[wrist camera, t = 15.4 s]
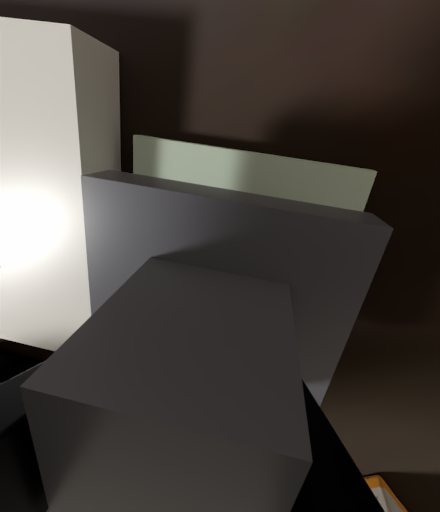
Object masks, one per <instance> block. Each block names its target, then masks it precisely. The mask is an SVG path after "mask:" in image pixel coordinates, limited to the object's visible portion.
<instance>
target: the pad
mask: <svg viewBox="0 0 440 512" xmlns="http://www.w3.org/2000/svg"><path fill="white" fill-rule="evenodd" d="M133 174H140V175H146V176H152V177H158V178H164V179H170V180H176V181H182V182H188V183H194V184H200V185H206V186H212V187H218V188H224V189H230V190H236V191H242V192H248V193H254V194H260V195H266V196H272V197H278V198H284V199H290V200H296V201H302V202H308V203H314V204H320V205H326V206H332V207H338V208H344V209H350V210H356V211H362V212H363V211H364V208H365V205H366V202H367V199H368V197H369V194H370V191H371V188H372V185H373V183H374V180H375V177H376V174H377V171H374V170H371V169H364V168H358V167H351V166H344V165H338V164H331V163H324V162H318V161H311V160H304V159H298V158H291V157H284V156H277V155H271V154H264V153H257V152H251V151H244V150H237V149H231V148H224V147H217V146H211V145H204V144H197V143H191V142H184V141H177V140H171V139H164V138H157V137H150V136H144V135H133Z"/></svg>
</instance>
